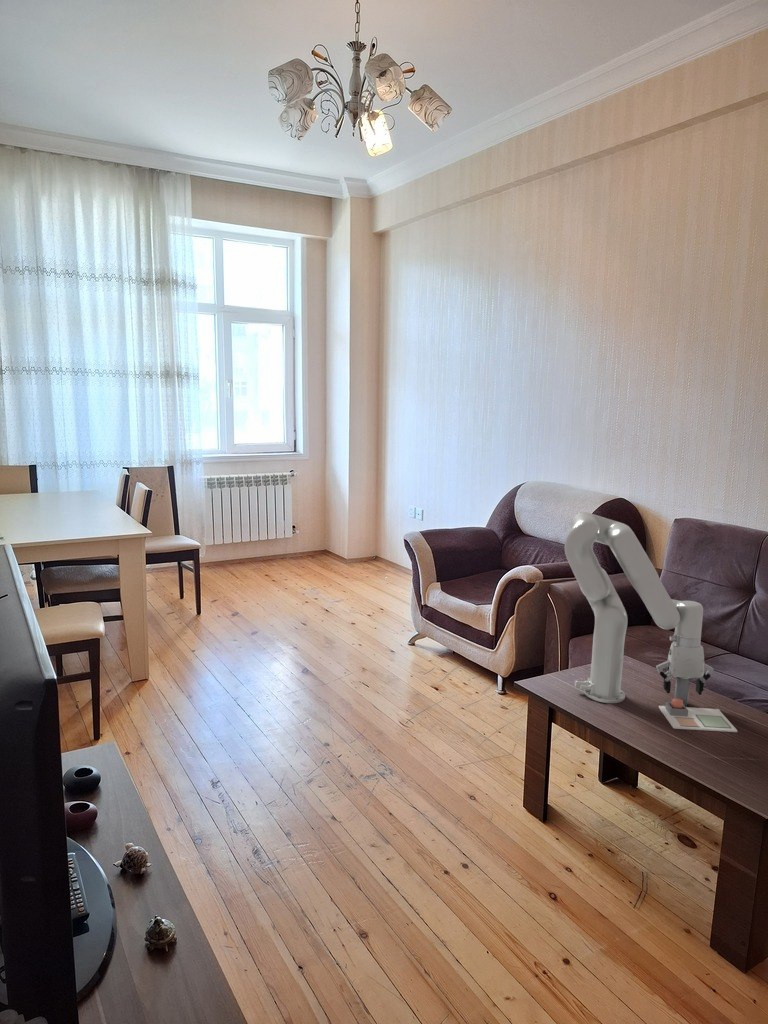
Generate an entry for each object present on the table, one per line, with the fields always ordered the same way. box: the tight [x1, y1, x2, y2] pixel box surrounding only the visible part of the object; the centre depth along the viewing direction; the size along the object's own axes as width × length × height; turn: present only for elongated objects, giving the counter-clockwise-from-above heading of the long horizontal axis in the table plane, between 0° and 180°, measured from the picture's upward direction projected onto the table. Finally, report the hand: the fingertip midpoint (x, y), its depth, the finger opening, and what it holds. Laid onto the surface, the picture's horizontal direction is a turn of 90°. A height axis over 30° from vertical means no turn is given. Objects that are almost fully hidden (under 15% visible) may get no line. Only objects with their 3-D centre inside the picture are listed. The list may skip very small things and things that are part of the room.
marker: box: [673, 677, 691, 707], centre depth 216 cm, size 4×4×11 cm
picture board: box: [658, 701, 738, 733], centre depth 205 cm, size 18×14×2 cm
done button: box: [670, 697, 683, 709], centre depth 208 cm, size 3×3×2 cm
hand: (682, 692), depth 216 cm, fingers open, 9 cm apart
